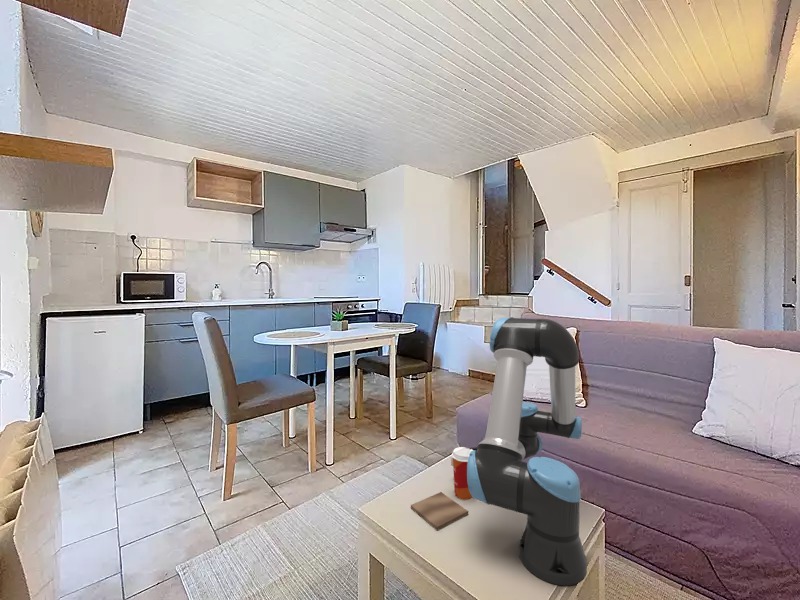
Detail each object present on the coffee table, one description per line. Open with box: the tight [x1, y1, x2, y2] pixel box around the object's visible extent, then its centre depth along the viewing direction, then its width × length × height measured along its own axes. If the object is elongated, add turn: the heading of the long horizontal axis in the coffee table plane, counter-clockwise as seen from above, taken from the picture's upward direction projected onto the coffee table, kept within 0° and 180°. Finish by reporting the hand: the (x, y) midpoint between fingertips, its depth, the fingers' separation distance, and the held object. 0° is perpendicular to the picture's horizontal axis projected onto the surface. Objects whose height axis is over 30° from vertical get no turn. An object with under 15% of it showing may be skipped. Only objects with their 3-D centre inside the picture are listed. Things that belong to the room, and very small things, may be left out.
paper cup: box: [451, 446, 473, 501], centre depth 115 cm, size 8×8×14 cm
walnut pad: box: [410, 491, 469, 531], centre depth 106 cm, size 12×12×1 cm
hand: (466, 470), depth 116 cm, fingers open, 13 cm apart
